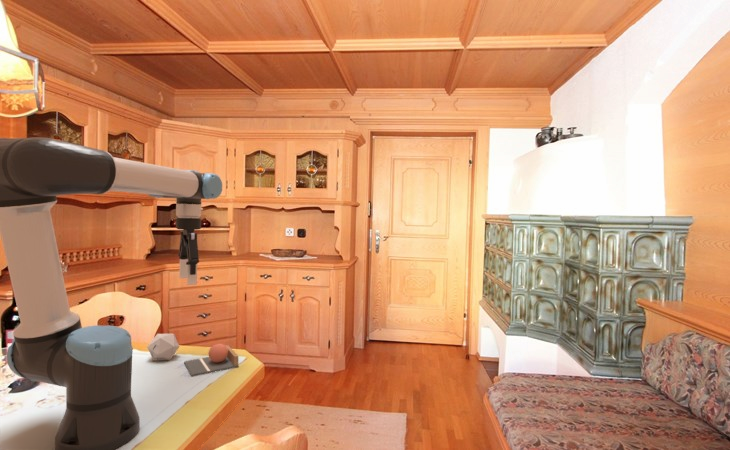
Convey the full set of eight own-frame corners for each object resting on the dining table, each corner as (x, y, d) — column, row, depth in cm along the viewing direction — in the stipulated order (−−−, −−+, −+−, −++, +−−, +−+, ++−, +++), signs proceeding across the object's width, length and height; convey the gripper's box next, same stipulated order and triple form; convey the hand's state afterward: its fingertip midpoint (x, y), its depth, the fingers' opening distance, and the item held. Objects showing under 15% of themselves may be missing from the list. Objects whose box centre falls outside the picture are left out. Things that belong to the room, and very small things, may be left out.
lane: (191, 376, 114) (191, 364, 114) (184, 363, 124) (184, 352, 124) (238, 367, 122) (238, 356, 122) (227, 355, 132) (227, 344, 132)
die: (147, 358, 129) (139, 341, 123) (170, 339, 135) (163, 322, 129) (163, 371, 126) (156, 354, 120) (186, 351, 132) (180, 334, 126)
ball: (210, 367, 120) (211, 348, 120) (206, 360, 125) (206, 342, 125) (230, 363, 124) (230, 345, 124) (225, 356, 129) (225, 339, 128)
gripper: (210, 218, 117) (208, 286, 118) (193, 216, 137) (192, 274, 138) (183, 218, 113) (182, 288, 113) (170, 216, 133) (169, 276, 133)
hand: (187, 281), depth 125 cm, fingers open, 13 cm apart
